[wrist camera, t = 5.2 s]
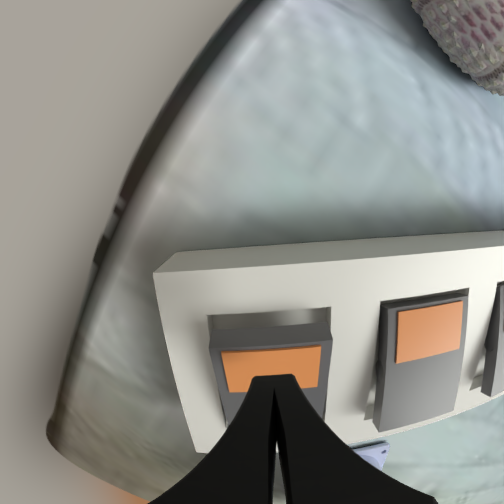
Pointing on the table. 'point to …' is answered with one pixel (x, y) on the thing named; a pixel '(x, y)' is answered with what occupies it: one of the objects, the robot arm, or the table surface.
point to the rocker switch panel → (323, 313)
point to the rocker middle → (419, 359)
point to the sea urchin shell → (469, 36)
